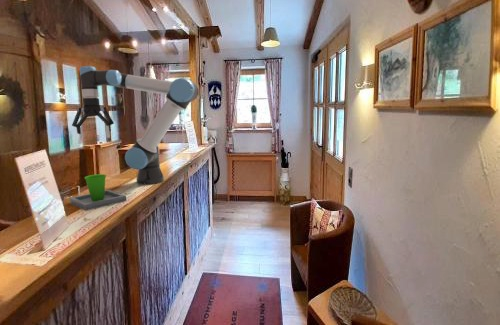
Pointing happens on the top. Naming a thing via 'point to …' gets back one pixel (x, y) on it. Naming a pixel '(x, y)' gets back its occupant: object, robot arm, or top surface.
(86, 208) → the tray
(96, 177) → the cup
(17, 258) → the top surface
